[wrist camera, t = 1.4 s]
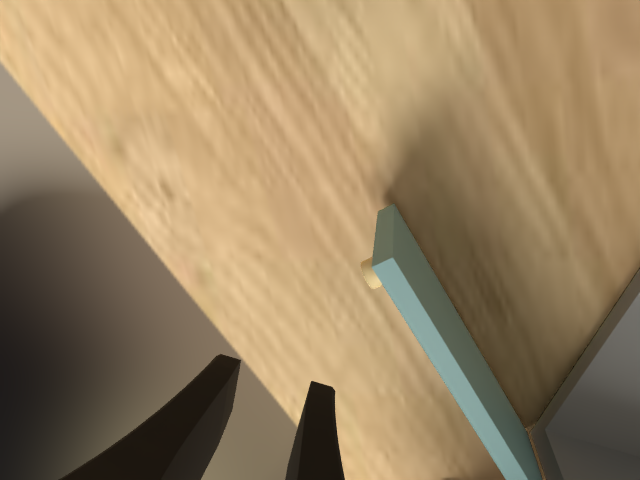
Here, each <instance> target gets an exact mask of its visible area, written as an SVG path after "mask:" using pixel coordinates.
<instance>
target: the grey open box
mask: <svg viewBox="0 0 640 480" xmlns="http://www.w3.org/2000/svg"><path fill="white" fill-rule="evenodd" d="M531 435H532V438H533V441H534V444H535V447H536V450H537V453H538V456H539V459H540V462H541V465H542V468H543V471H544V474H545V477H546V480H640V269H639V270H638V272H637V273H636V275H635V276H634V278H633V279H632V281H631V282H630V284H629V285H628V287H627V288H626V290H625V291H624V293H623V294H622V296H621V297H620V299H619V300H618V302H617V303H616V305H615V306H614V308H613V309H612V311H611V312H610V314H609V315H608V317H607V318H606V320H605V321H604V323H603V324H602V326H601V327H600V329H599V330H598V332H597V333H596V335H595V336H594V338H593V339H592V341H591V342H590V344H589V345H588V347H587V348H586V350H585V351H584V353H583V354H582V356H581V357H580V359H579V360H578V362H577V363H576V365H575V366H574V367H573V369H572V370H571V372H570V373H569V375H568V376H567V378H566V379H565V381H564V382H563V384H562V385H561V387H560V388H559V390H558V391H557V393H556V394H555V396H554V397H553V399H552V400H551V402H550V403H549V405H548V406H547V408H546V409H545V411H544V412H543V414H542V415H541V417H540V418H539V420H538V421H537V423H536V424H535V426H534V427H533V429H532V430H531Z"/></svg>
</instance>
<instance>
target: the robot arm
mask: <svg viewBox="0 0 640 480" xmlns="http://www.w3.org/2000/svg"><path fill="white" fill-rule="evenodd" d="M240 363H241V360H238V359H235V358H232V357H229V356H225V355H222V354H220V355H218V356H216V357H215V358H214V359H213V360H212V361H211V363H210V364H209V365H208V366H207V367H206V368H205V369H204V370H203V371H202V372H201V373H200V374H199V375H198V376H197V377H195V378H194V379H193V381H191V382H190V383H189V384H188V385H187V386H186V387H185V388H184V389H183V390H182V391H180V392H179V393H178V394H177V395H176V396H175V397H173V398H172V399H171V400H170V401H169V402H168V403H167V404H166V405H164V406H163V407H162V408H161V409H160V410H158V411H157V412H156V413H155V414H153V415H152V416H151V417H149V418H148V419H147V420H146V421H145V422H143V423H142V424H141V425H139V426H138V427H137V428H136V429H134V430H133V431H132V432H130V433H129V434H128V435H126V436H125V437H123V438H122V439H121V440H119V441H118V442H116V443H115V444H114V445H112V446H111V447H109V448H108V449H106V450H105V451H103V452H102V453H100V454H99V455H98V456H96V457H95V458H93V459H91V460H90V461H88V462H87V463H85V464H84V465H82V466H80V467H79V468H77V469H76V470H74V471H72V472H71V473H69V474H68V475H66V476H64V477H63V478H61V479H59V480H201V478H202V476H203V474H204V472H205V470H206V468H207V466H208V464H209V462H210V460H211V458H212V456H213V454H214V452H215V450H216V449H217V446H218V444H219V442H220V439H221V437H222V435H223V432H224V430H225V427H226V425H227V422H228V419H229V417H230V414H231V412H232V408H233V402H234V397H235V391H236V386H237V380H238V374H239V369H240ZM285 480H345V478H344V473H343V468H342V462H341V456H340V450H339V444H338V436H337V428H336V417H335V390H334V389H333V387H331V386H327V385H324V384H320V383H317V382H314V381H311V384H310V387H309V391H308V394H307V398H306V401H305V405H304V408H303V412H302V415H301V419H300V422H299V425H298V429H297V433H296V436H295V440H294V444H293V448H292V452H291V456H290V459H289V463H288V467H287V474H286V479H285Z"/></svg>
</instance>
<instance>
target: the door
mask: <svg viewBox="0 0 640 480" xmlns="http://www.w3.org/2000/svg"><path fill="white" fill-rule="evenodd" d="M361 270H362V273H363V276H364V278H365V280H366V282H367V283H368V285H369V286H370V287H371V288H372V289H375V288H377V287H380V286H382V285H383V286H384V288H385V289H386V291H387V293H388V294H389V296H390V297H391V299H392V300H393V302H394V304H395V305H396V307H397V308H398V310H399V312H400V313H401V315H402V316H403V318H404V319H405V321H406V323H407V324H408V326H409V327H410V329H411V330H412V332H413V334H414V335H415V337H416V338H417V340H418V342H419V343H420V345H421V346H422V348H423V349H424V351H425V353H426V354H427V356H428V357H429V359H430V361H431V362H432V364H433V365H434V367H435V368H436V370H437V372H438V373H439V375H440V376H441V378H442V380H443V381H444V383H445V384H446V386H447V387H448V389H449V391H450V392H451V394H452V395H453V397H454V398H455V400H456V402H457V403H458V405H459V406H460V408H461V410H462V411H463V413H464V414H465V416H466V417H467V419H468V421H469V422H470V424H471V425H472V427H473V429H474V430H475V432H476V433H477V435H478V436H479V438H480V440H481V441H482V443H483V444H484V446H485V448H486V449H487V451H488V452H489V454H490V455H491V457H492V459H493V460H494V462H495V463H496V465H497V466H498V468H499V470H500V471H501V473H502V474H503V476H504V478H505V479H506V480H543V479H542V476H541V473H540V470H539V467H538V464H537V461H536V458H535V455H534V452H533V449H532V445H531V442H530V439H529V436H528V433H527V431H526V430H525V428H524V426H523V424H522V423H521V421H520V419H519V418H518V416H517V414H516V412H515V411H514V409H513V407H512V406H511V404H510V402H509V400H508V399H507V397H506V395H505V393H504V392H503V390H502V388H501V387H500V385H499V383H498V381H497V380H496V378H495V376H494V375H493V373H492V371H491V369H490V368H489V366H488V364H487V362H486V361H485V359H484V357H483V356H482V354H481V352H480V350H479V349H478V347H477V345H476V344H475V342H474V340H473V338H472V337H471V335H470V333H469V331H468V330H467V328H466V326H465V325H464V323H463V321H462V319H461V318H460V316H459V314H458V313H457V311H456V309H455V307H454V306H453V304H452V302H451V301H450V299H449V297H448V295H447V294H446V292H445V290H444V288H443V287H442V285H441V283H440V282H439V280H438V278H437V276H436V275H435V273H434V271H433V270H432V268H431V266H430V264H429V263H428V261H427V259H426V257H425V256H424V254H423V252H422V251H421V249H420V247H419V245H418V244H417V242H416V240H415V239H414V237H413V235H412V233H411V232H410V230H409V228H408V226H407V225H406V223H405V221H404V220H403V218H402V216H401V214H400V213H399V211H398V209H397V208H396V206H395V204H392V205H390V206H388V207H386V208H384V209H382V210H380V211H378V215H377V224H376V232H375V241H374V250H373V257H371V258H369V259H367V260H365V261H363V262H361Z"/></svg>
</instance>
